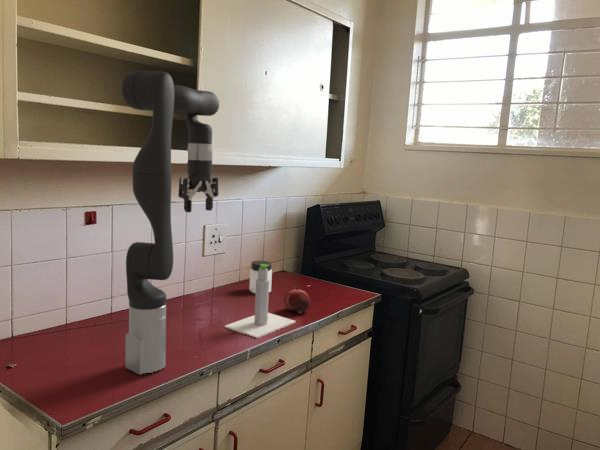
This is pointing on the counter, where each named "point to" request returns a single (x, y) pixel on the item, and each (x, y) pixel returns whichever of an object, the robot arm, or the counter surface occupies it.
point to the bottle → (262, 296)
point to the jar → (254, 274)
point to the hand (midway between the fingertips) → (198, 211)
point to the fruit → (297, 300)
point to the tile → (258, 331)
